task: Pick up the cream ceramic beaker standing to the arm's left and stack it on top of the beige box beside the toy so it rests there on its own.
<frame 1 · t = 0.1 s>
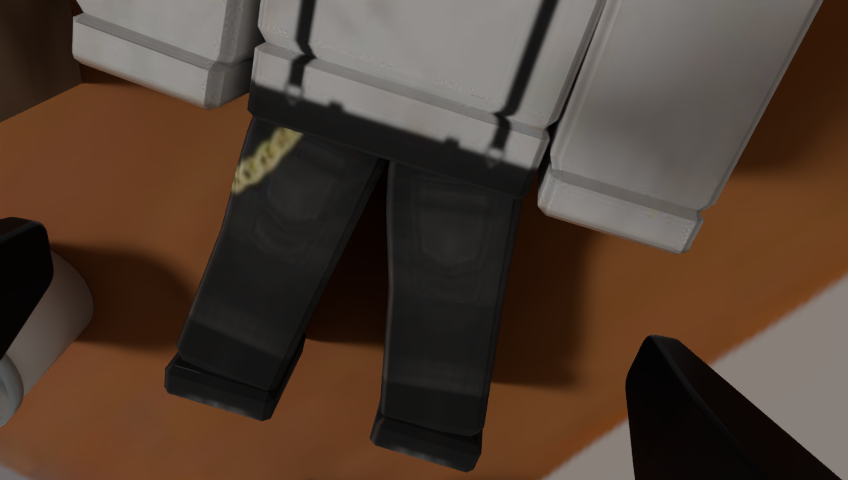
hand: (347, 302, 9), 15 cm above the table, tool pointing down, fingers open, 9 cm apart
toy: (422, 45, 21), on the table
beaker: (31, 290, 28), on the table
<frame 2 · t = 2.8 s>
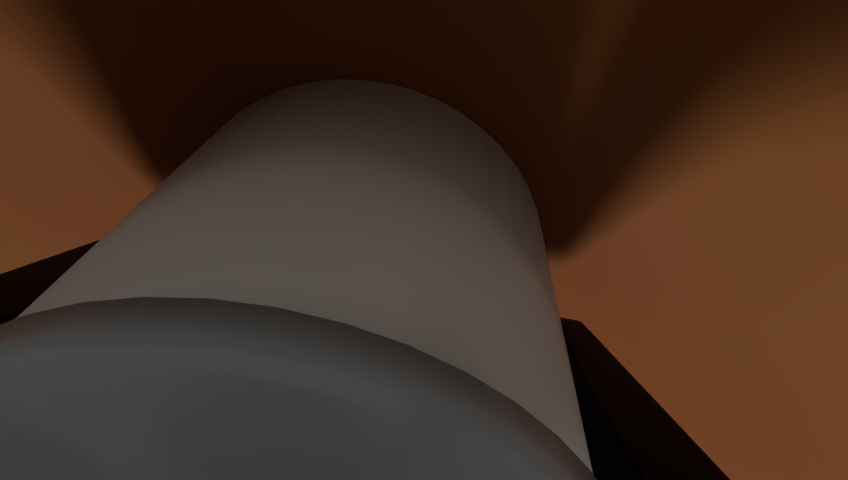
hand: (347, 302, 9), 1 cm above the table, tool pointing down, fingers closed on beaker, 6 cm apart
beaker: (361, 257, 10), on the table, touching gripper
when the fingers open (8 cm above the table, at t = 6.7 s): beaker stays where it is, resting on beige box.
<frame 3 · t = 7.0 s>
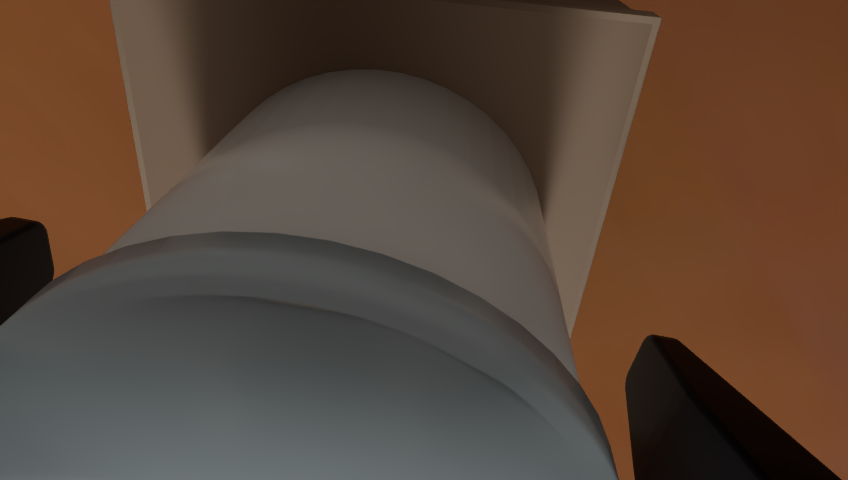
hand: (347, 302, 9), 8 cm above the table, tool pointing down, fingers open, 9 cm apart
beaker: (374, 235, 11), point 6 cm above the table, touching beige box
beige box: (401, 120, 16), on the table, touching beaker
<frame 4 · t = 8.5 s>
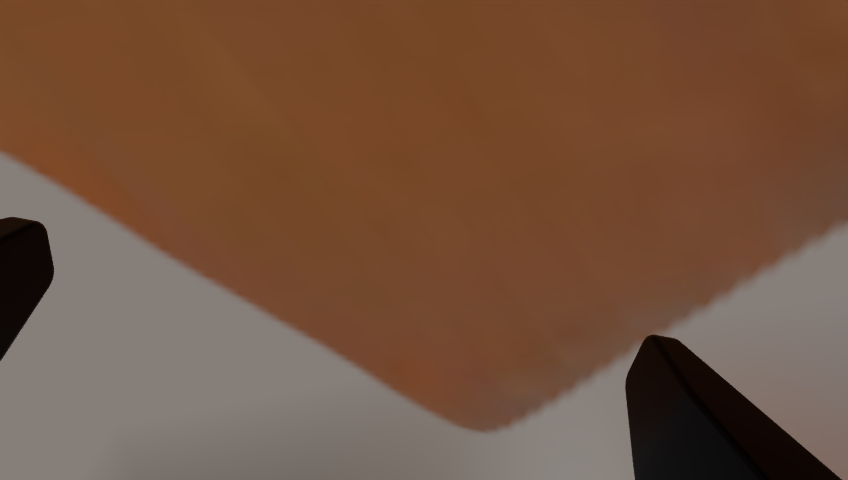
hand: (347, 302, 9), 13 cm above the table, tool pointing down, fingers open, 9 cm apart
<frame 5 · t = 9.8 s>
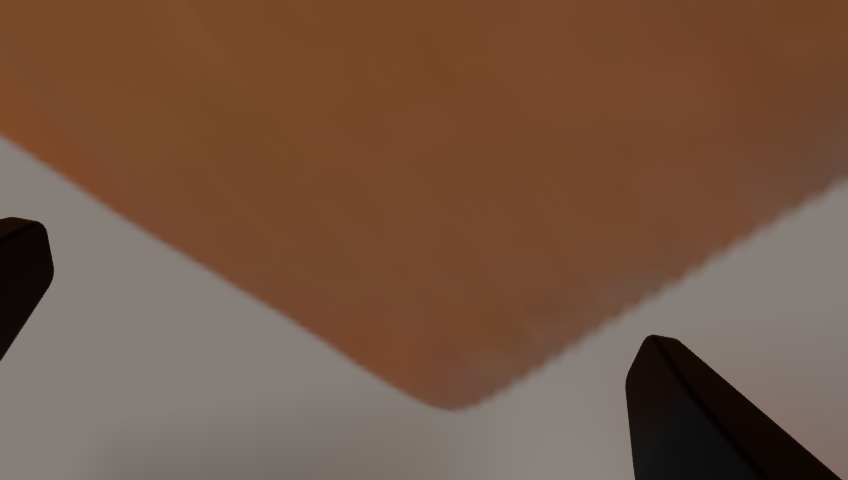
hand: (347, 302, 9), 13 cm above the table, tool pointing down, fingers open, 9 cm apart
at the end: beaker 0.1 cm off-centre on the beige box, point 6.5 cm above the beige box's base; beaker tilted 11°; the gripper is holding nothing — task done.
